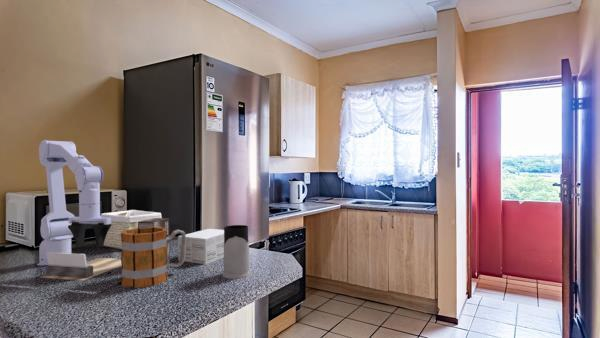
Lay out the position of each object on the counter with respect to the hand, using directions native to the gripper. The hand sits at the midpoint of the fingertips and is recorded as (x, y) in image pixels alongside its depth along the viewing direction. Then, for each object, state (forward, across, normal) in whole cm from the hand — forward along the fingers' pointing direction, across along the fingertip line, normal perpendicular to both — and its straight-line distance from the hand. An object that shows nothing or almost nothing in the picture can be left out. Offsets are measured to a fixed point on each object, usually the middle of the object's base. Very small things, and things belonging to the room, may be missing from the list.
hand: (90, 246), depth 113 cm
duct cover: (+3, +4, +5) cm, 7 cm away
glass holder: (+9, -46, -12) cm, 48 cm away
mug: (+9, -24, 0) cm, 25 cm away
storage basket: (+9, +17, -40) cm, 44 cm away
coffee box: (+9, -15, -12) cm, 21 cm away
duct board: (+9, +3, -4) cm, 11 cm away
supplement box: (+9, -26, -28) cm, 39 cm away
